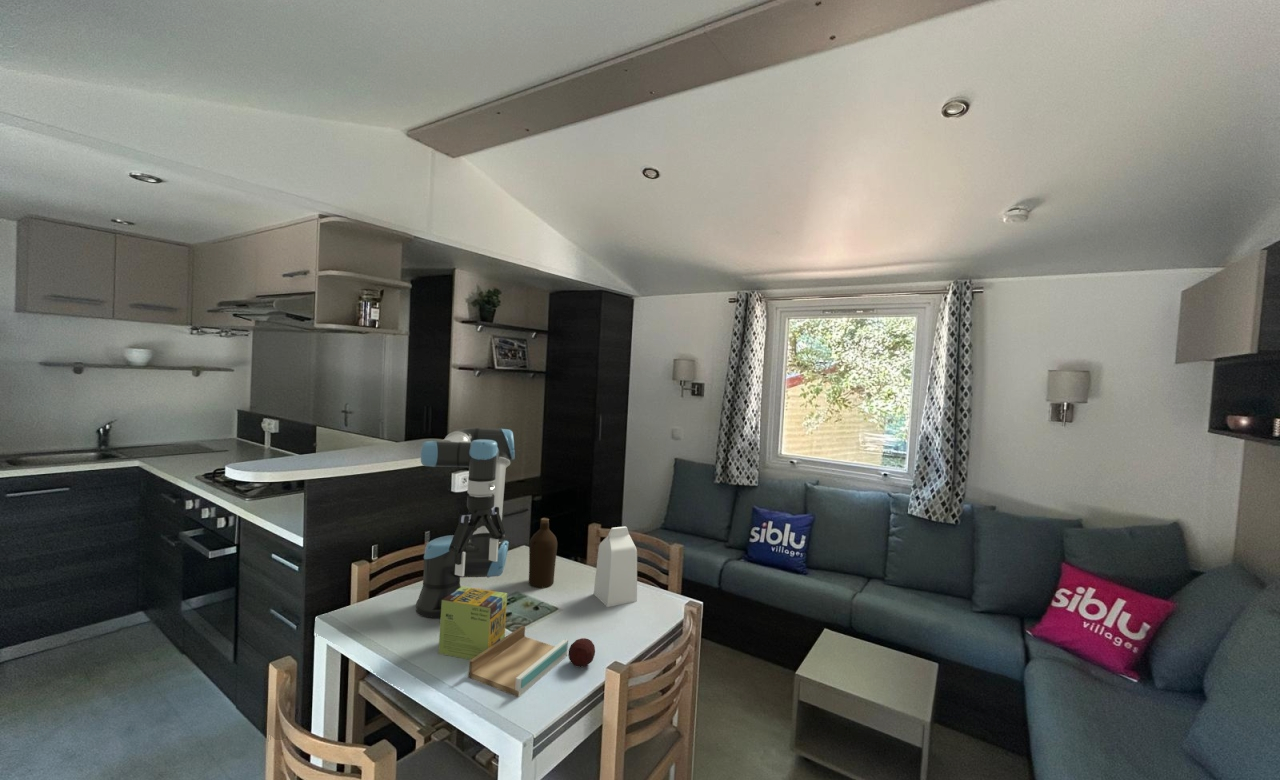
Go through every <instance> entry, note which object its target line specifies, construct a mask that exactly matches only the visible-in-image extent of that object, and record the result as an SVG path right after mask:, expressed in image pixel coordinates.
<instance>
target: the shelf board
mask: <svg viewBox="0 0 1280 780" xmlns="http://www.w3.org/2000/svg"><path fill="white" fill-rule="evenodd" d="M555 646H556V645H551V644H549V643H545V642H543V641H539V640H537V639H536V640H535V639H533V638H530V637H527V636H525V637H523V638H522V639H520V640H519V641H517V642H516V643H515V644H513V645H512V646H510V647H509V648H507V649H506V650H505V651H503V652H502V653H500V654H499V655H497V656H496V657H494V658H493V659H492V660H490V661H489V662H487V663H486V664H484V665H483V666H482V667H480V668H479V669H477V670H476V671H474V672H473V673H472V675H471V673H470V672H469V671H468V676H467V678H468V679H470V678H471V677H472V678H471V680H473V681H475V682H478V683H481V684H483V685H487V686H489V687H491V688H494V689H497V690H499V691H501V692H503V693H506V694H508V695H511V696H515V695H517V694H516V692H517V693H518V695H517V696H515V697H518V696H519V692H518V691H517V690H515V685H516V677H518V676H519V675H520V674H521V673H523V672H524V671H525V670H526V669H528V668H529V667H530V666H531V665H533V664H534V663H535V662H536V661H538V660H539V659H540V658H542V657H543V656H544V655H545V654H547V653H548V652H549V651H550V650H552V649H553V648H554V647H555ZM469 673H470V674H469ZM469 677H470V678H469ZM515 691H516V692H515ZM518 698H519V697H518Z"/></svg>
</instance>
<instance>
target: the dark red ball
mask: <svg viewBox="0 0 1280 780" xmlns="http://www.w3.org/2000/svg"><path fill="white" fill-rule="evenodd" d="M568 648H569V649H568V653H567V657H568V660H569V661H570V663H571V664H572V665H573V667H576V668H584V667H586V666H589V664H590V663H592V662H593V661H594V658H595V655H596V647H595V644H594V642H593V641H592V640H590V639H589V638H582V637H581V638H579V639H575V641H573V642H572V643H571V645H570V646H569V647H568Z"/></svg>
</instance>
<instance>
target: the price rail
mask: <svg viewBox="0 0 1280 780" xmlns="http://www.w3.org/2000/svg"><path fill="white" fill-rule="evenodd" d="M554 646H555V647H554V648H553V649H552V650H550V651H549V652H548V653H547V654H545V655H544V656H543V657H542V658H540V659H539V660H538V661H536V662H535V663H534V664H533V665H531V666H530V667H529V668H528V669H526V670H525V671H524V672H523V673H521V674H520V675H519V676H518V677H516V685H515V690H517V691H518V692H519V696H518V698H520V697H521V696H522V695H523V694H525V693H526V692H527V691H528V690H529V689H530V688H532V686H534V685H535V684H536V683H537V682H539V681H540V680H541V679H542V678H544V676H545V675H547V674H548V673H549V672H550V671H551V670H552V669H554V668H555V667H556V666H557V665H559V663H560V662H562V661H563V660H564V659H565V658H566V657H568V651H569V649H568V648H569V640H568V639H566V638H564V639H563V640H562V641H560V642H559V643H558V644H556V645H554ZM515 692H516V691H515ZM516 694H517V695H518V693H517V692H516ZM517 695H515V697H517Z"/></svg>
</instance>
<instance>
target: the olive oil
mask: <svg viewBox="0 0 1280 780" xmlns="http://www.w3.org/2000/svg"><path fill="white" fill-rule="evenodd" d="M549 521H550V519H549V518H548V517H542V518H540V522H539V529H538V530H537V531H536V532H534V534H533V535H532V536H531V538H530V540H529V544H528V545H529V548H528V549H529V552H528V553H529V554H528V555H529V556H528V557H529V559H528V566H529V567H528V585H529V586H530V587H532V588H536V589H537V588H538V589H545V588H549V587H551V586H553V585H554V582H555V572H556V571H555V570H556V569H555V568H556V559H557V552H558V540H557V536H556V535H555V534H554V533H553V531H552V530H550V522H549Z"/></svg>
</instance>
